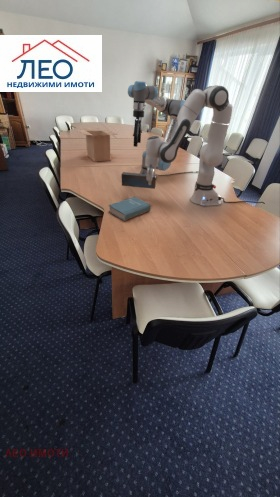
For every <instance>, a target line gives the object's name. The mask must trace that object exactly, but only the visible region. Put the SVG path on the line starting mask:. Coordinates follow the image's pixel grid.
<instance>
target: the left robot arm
mask: <svg viewBox="0 0 280 497" xmlns="http://www.w3.org/2000/svg"><path fill="white" fill-rule="evenodd" d="M127 95H128V97H130V99H131V98H132V99H133V103H132V109H133V110H132V117H134V118H135V119H134V127H133V134H132V137H133V147H135V148H137V147H138V146H139V145H138V144H141V143H142V134H143V130H142V128H143V125H142V120H143V118H144V117H145V107H146V104H147V105H149V106H151V107H153V108H156V109H157V111H158V112H160V113H161V114H164V115H166V116H169V119H170V121H169V123H168V127H167V129H166V132H165V136H164V138H163V141H166V142H168V143H170V141H171V139H172V137H173V136H174V134H175V132H176V130H177V126H178V121H177V116H178V113H179V111H180V109H181V107H182V105H183V104H184V102H185V100H183V99H173V98H165V97H160V96H159V89H158V87H157V86H154V85H147V82H146V81H141V80H140V81H138V80H136V81H134V83H133V84H130V85H129V86H128V89H127ZM145 157H146V150H145V151H143V152H142V159H141V169H140V172H139V174H147V167H146V166H145ZM171 165H172V162H171V163H165V162H163V161H162V160H161V157H159V159H158V166H157V167H156V169H155V170H158V171H163V172H165V171H167V170H168V169H169V168H170V167H171ZM198 172H199V170H198V171H197V173H198ZM186 173H187V174H190V173H192V171H184V172H176V173H170V174H157V173H156V172H155V173H154V175H156V176H157V177H166V176H173V175H180V174H186Z"/></svg>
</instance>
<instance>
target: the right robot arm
mask: <svg viewBox="0 0 280 497" xmlns="http://www.w3.org/2000/svg"><path fill="white" fill-rule="evenodd" d="M229 99H230V98H229V91H228V89H227V88H226V87H225V86H224V85H217V84H215V85H209V86H207V87H205V88H204V89H200V88H194V89H193V90H192V91H191V92H190V93H189V95H188V96H187V97H186V99H185V100H184V101H185V102H184V104H183V105H182V107H181V109H180V111H179V113H178V116H177V121H178V126H177V130H176V132H175V134H174V136H173V137H172V139H171V141H170V143H168V142H166V141H164V139H162V138H160V137H159V136H157V135H153V136H149V137H148V138H147V140H146V142H145V151H146V157H145V166H146V167H147V178H146V180H147V181H148V182H149V183H148V184H149V185H151V181H152V179H153V176H154V173H155V174H156V170H157V169H156V167H157V166H158V159H159V157H161V160H162V161H163V162H165V163H171V164H172V162H173V163H174V161H175V160H176V159H177V155H178V152H179V148H180V146H181V145H182V143H183V141H184V139H185V138H186V136H187V134H188V132H189V130H190V129H191V128H192V125H193V124H194V122H195V121H196V120H197V118H198V116H199V114H200V113H201V111H202V110H203V109H204V108H209V109H212V112H213V113H212V117H211V122H210V125H209V129H208V132H207V143H206V144H204V145H202V146H201V148H200V149H199V163H198V165H199V166H198V171H199V172H198V171H197V178H196V181H195V184H194V189H193V193H192V195H191V197H190V201H191V203H194V204H196V205H199V206H201V207H211V206H220V205H221V201H222V202H223V203H227V204H236V203H254V204H263V205H266V202H264V201H252V200H251V201H250V200H240V201H239V200H238V201H225V198H224V197H222V195H221V194H218V192H217V191H216V190H215V189H216V188H217V186H216V184H214V183H213V181H214V177H215V167H218V166H220V165H221V164H222V162H223V160H224V155H223V154H224V147H225V140H226V136H227V132H228V129H229V126H230V123H231V119H232V114H233V109H234V108H233V104H232V103H231V102H230V100H229Z"/></svg>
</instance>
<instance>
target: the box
mask: <svg viewBox="0 0 280 497" xmlns="http://www.w3.org/2000/svg"><path fill="white" fill-rule="evenodd" d="M77 131H78V132H79V133H81V134H82V135H85V144H86V156H87V157H88V158H90V160H92V161H93V162H95V163H97V162H108V161H111V136H116V135H118V133H116V132H114V131H112V130H109V129H103V130H101V129H100V128H83V129H77Z"/></svg>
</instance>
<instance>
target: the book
mask: <svg viewBox="0 0 280 497" xmlns="http://www.w3.org/2000/svg"><path fill="white" fill-rule="evenodd" d="M151 206H152V205H151V204H150V203H148V202H147V201H144V200H142V199H141V198H138V197H137V196H131V197H128V198H126V199H123V200H119V201H117V202H114V203H110V204H108V207H109V210H108V213H110V214H111V215H113V216H115V217H117V218H118V219H120V220H122V222H125V221H127V220H130V219H132V218H134V217H137V216H141V215H142V214H145V213H147V212H150V211H151Z"/></svg>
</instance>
